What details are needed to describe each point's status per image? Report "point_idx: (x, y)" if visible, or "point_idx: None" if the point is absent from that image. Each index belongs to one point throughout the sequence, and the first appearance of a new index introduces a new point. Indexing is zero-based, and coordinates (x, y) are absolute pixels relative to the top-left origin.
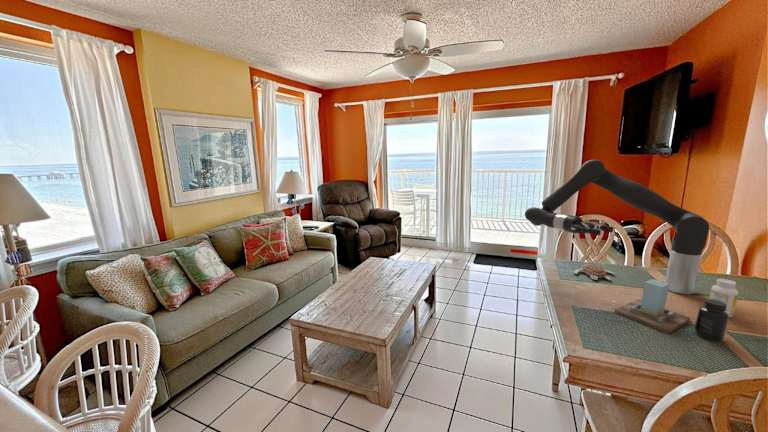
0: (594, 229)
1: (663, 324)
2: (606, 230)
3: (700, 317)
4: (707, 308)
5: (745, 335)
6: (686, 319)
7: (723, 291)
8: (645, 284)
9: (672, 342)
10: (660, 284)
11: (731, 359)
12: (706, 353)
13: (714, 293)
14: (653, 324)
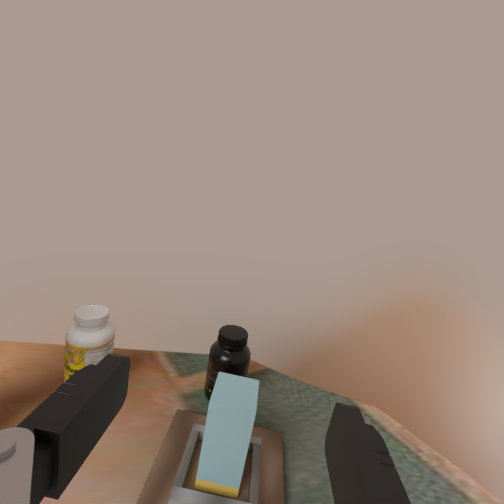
0: (374, 451)
1: (261, 442)
2: (95, 434)
3: (244, 371)
4: (242, 349)
5: (175, 362)
6: (193, 414)
7: (112, 331)
8: (254, 416)
9: (306, 428)
10: (240, 383)
11: (276, 375)
12: (290, 394)
13: (102, 348)
14: (282, 457)
